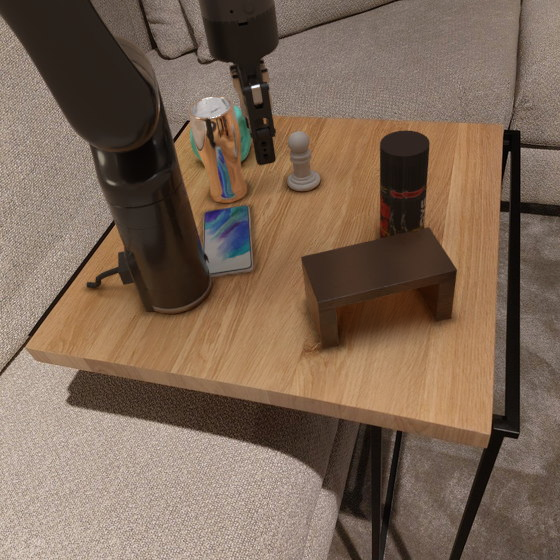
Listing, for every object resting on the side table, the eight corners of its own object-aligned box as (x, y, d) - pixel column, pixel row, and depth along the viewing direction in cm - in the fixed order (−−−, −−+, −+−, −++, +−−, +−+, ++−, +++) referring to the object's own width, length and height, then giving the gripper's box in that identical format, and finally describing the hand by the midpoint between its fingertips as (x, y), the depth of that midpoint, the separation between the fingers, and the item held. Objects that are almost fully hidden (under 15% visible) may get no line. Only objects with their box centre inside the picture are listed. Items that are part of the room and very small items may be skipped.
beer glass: (202, 204, 93) (180, 119, 83) (214, 179, 98) (194, 95, 88) (245, 205, 92) (228, 118, 81) (254, 179, 96) (239, 94, 86)
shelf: (322, 349, 69) (317, 302, 64) (306, 302, 75) (300, 256, 69) (451, 318, 70) (457, 269, 65) (425, 274, 76) (429, 226, 71)
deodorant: (422, 252, 79) (429, 156, 69) (378, 250, 81) (378, 156, 70) (423, 224, 83) (430, 130, 73) (381, 222, 85) (381, 130, 74)
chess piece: (282, 190, 93) (275, 140, 87) (294, 171, 97) (288, 122, 91) (313, 194, 91) (308, 144, 85) (325, 175, 95) (321, 125, 89)
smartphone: (201, 276, 80) (203, 211, 91) (203, 281, 81) (204, 215, 92) (253, 268, 80) (249, 203, 91) (254, 273, 81) (250, 208, 92)
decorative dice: (213, 142, 107) (204, 101, 101) (254, 145, 104) (247, 104, 99) (196, 167, 101) (185, 125, 96) (238, 170, 99) (230, 128, 93)
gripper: (195, -12, 64) (223, 122, 75) (206, 36, 54) (237, 183, 65) (262, -25, 64) (280, 110, 76) (286, 20, 54) (303, 169, 65)
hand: (260, 143), depth 70 cm, fingers open, 8 cm apart
